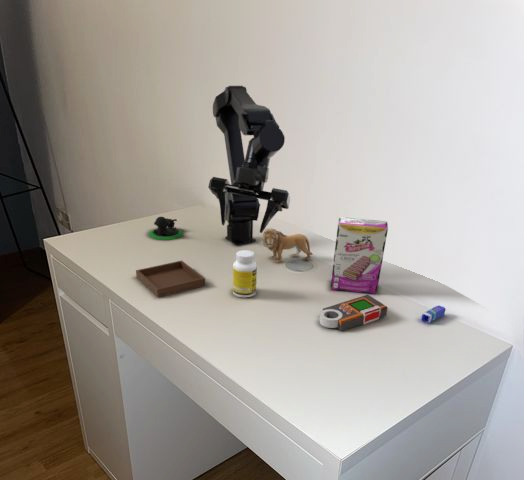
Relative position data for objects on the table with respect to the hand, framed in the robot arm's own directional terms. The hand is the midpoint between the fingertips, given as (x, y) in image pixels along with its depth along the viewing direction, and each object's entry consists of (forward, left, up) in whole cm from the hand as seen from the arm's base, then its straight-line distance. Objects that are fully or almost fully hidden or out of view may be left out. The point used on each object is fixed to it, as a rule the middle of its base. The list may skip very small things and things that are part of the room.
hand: (241, 228), depth 127 cm
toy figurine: (+3, -36, -12) cm, 38 cm away
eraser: (-25, +39, -12) cm, 48 cm away
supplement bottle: (+4, +8, -12) cm, 15 cm away
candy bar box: (-20, +19, -12) cm, 30 cm away
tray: (+16, -6, -12) cm, 21 cm away
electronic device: (-9, +30, -12) cm, 34 cm away
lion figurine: (-16, -3, -12) cm, 20 cm away
